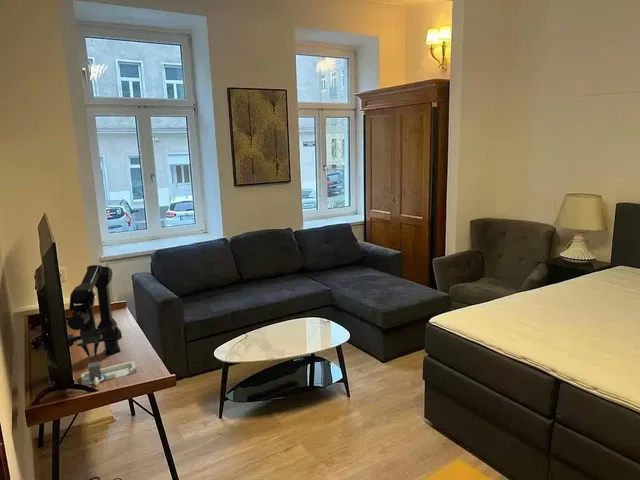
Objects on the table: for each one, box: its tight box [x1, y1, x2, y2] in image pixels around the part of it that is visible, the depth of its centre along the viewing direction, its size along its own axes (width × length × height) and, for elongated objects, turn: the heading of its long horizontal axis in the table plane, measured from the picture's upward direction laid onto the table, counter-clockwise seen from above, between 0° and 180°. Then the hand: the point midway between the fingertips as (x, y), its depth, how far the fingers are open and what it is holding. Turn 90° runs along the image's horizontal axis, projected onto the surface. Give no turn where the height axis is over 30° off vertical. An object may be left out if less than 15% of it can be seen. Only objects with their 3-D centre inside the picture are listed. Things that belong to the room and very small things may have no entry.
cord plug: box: [87, 360, 102, 386], centre depth 183 cm, size 10×4×6 cm, turn 28°
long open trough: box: [80, 360, 137, 386], centre depth 188 cm, size 8×20×3 cm, turn 118°
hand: (92, 356), depth 184 cm, fingers closed
